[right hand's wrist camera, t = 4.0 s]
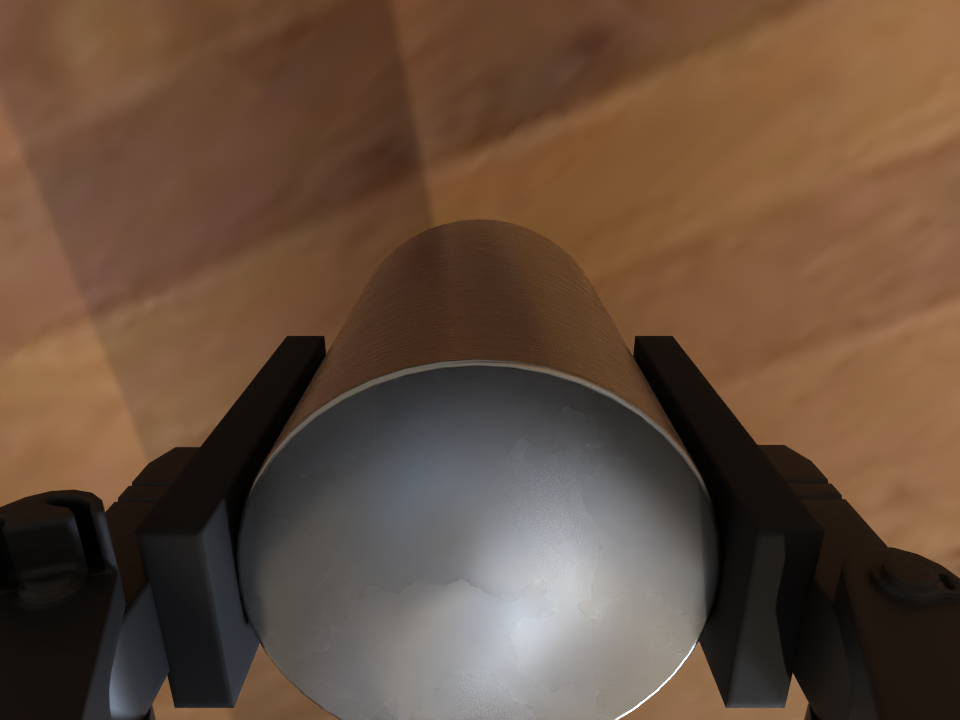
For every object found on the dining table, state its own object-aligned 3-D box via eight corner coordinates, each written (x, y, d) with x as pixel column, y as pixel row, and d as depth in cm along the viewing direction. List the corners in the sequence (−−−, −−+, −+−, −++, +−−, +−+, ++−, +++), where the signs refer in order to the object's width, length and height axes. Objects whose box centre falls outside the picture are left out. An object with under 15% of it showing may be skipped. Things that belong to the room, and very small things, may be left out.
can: (648, 277, 16) (821, 469, 8) (542, 484, 19) (593, 802, 10) (403, 177, 16) (316, 276, 7) (322, 406, 18) (183, 686, 9)
